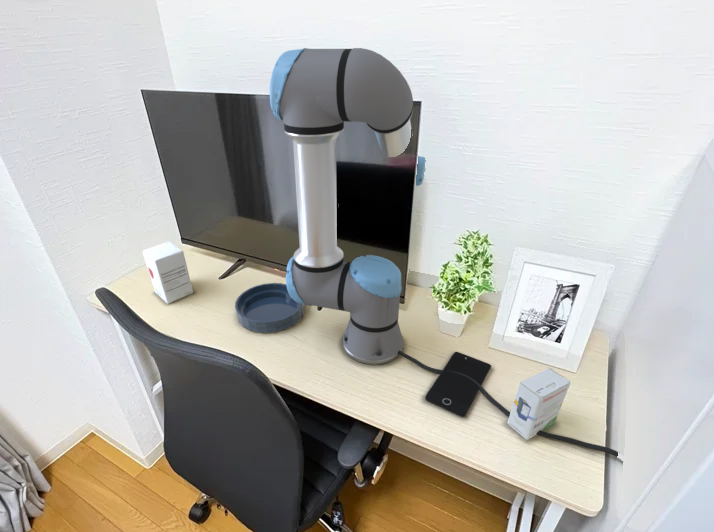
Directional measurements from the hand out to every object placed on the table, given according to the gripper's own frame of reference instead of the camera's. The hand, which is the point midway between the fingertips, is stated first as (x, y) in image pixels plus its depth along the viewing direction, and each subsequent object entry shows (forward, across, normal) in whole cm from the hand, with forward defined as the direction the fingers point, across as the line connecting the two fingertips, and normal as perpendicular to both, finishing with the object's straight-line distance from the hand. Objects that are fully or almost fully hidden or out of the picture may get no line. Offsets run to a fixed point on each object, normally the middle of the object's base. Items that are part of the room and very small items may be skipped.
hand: (319, 277), depth 122 cm
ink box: (+14, -64, +4) cm, 65 cm away
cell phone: (+12, -48, +3) cm, 49 cm away
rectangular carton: (+22, +38, +13) cm, 46 cm away
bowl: (+15, +6, +6) cm, 18 cm away
